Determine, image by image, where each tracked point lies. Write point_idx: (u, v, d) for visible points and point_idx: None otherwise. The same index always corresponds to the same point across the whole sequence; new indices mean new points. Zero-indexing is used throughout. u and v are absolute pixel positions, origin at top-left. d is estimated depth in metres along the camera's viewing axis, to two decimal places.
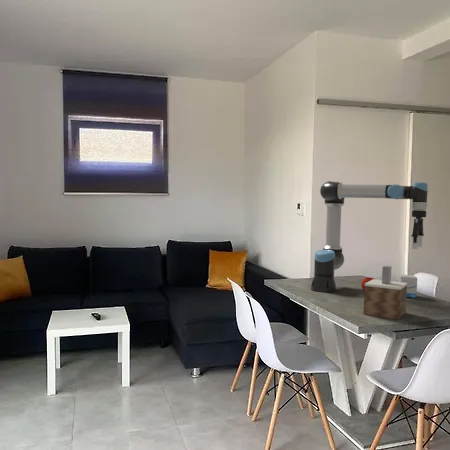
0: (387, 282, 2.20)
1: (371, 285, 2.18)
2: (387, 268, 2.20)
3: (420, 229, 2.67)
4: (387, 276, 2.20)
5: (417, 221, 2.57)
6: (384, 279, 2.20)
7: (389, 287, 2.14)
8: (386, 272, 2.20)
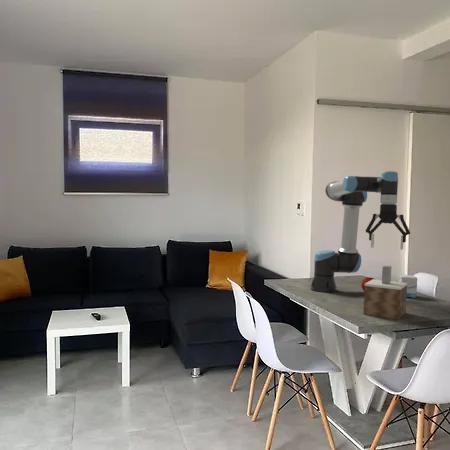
0: (387, 282, 2.20)
1: (371, 285, 2.18)
2: (387, 268, 2.20)
3: (397, 227, 2.21)
4: (387, 276, 2.20)
5: None
6: (384, 279, 2.20)
7: (389, 287, 2.14)
8: (386, 272, 2.20)
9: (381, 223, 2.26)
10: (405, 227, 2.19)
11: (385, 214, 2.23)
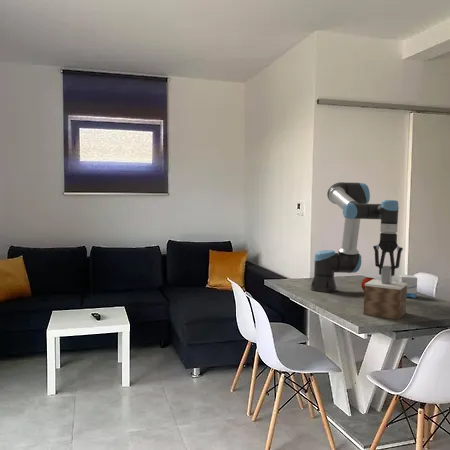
0: (387, 282, 2.20)
1: (371, 285, 2.18)
2: (387, 268, 2.20)
3: None
4: (387, 276, 2.20)
5: None
6: (384, 279, 2.20)
7: (389, 287, 2.14)
8: (386, 272, 2.20)
9: (385, 253, 2.23)
10: (397, 261, 2.18)
11: (384, 241, 2.21)
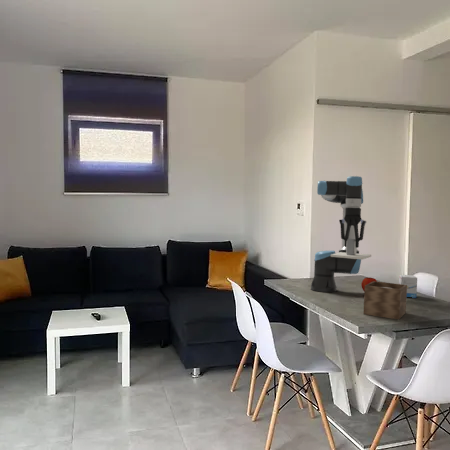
0: (351, 253, 2.34)
1: (336, 256, 2.33)
2: (351, 240, 2.34)
3: None
4: (351, 247, 2.34)
5: None
6: (349, 250, 2.35)
7: (352, 257, 2.28)
8: (350, 244, 2.34)
9: (350, 226, 2.37)
10: (361, 233, 2.33)
11: (348, 215, 2.36)
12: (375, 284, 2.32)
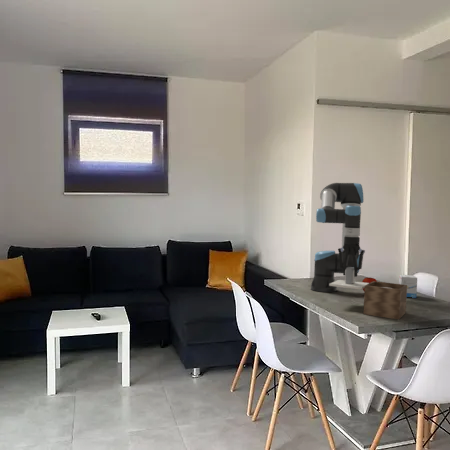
0: (350, 282, 2.35)
1: (335, 285, 2.33)
2: (350, 269, 2.35)
3: None
4: (350, 277, 2.35)
5: None
6: (347, 279, 2.35)
7: (351, 287, 2.29)
8: (349, 273, 2.35)
9: (349, 255, 2.38)
10: (359, 262, 2.33)
11: (347, 244, 2.36)
12: (375, 284, 2.32)
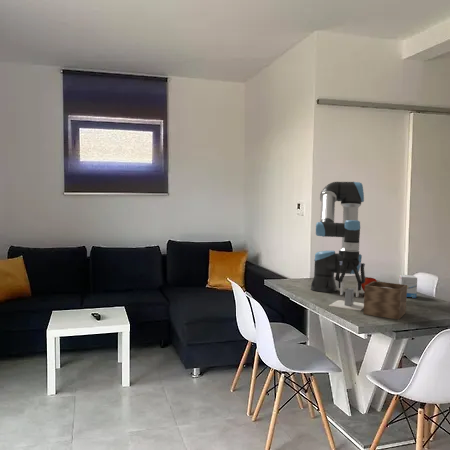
0: (349, 304, 2.35)
1: None
2: (349, 291, 2.35)
3: None
4: (349, 298, 2.35)
5: None
6: (346, 301, 2.36)
7: None
8: (348, 294, 2.36)
9: (346, 269, 2.39)
10: (362, 276, 2.33)
11: (347, 259, 2.37)
12: (375, 284, 2.32)
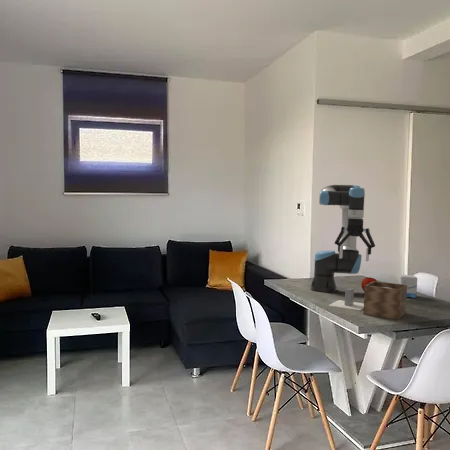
0: (349, 304, 2.35)
1: None
2: (349, 291, 2.35)
3: None
4: (349, 298, 2.35)
5: None
6: (346, 301, 2.36)
7: None
8: (348, 294, 2.36)
9: (349, 236, 2.41)
10: (370, 240, 2.34)
11: (352, 228, 2.38)
12: (375, 284, 2.32)
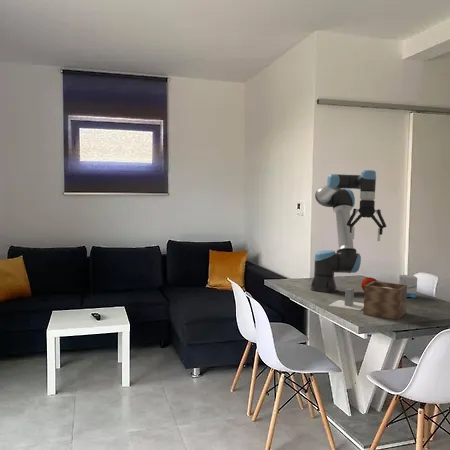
0: (349, 304, 2.35)
1: None
2: (349, 291, 2.35)
3: None
4: (349, 298, 2.35)
5: None
6: (346, 301, 2.36)
7: None
8: (348, 294, 2.36)
9: (361, 217, 2.49)
10: (382, 221, 2.42)
11: (364, 209, 2.46)
12: (375, 284, 2.32)
